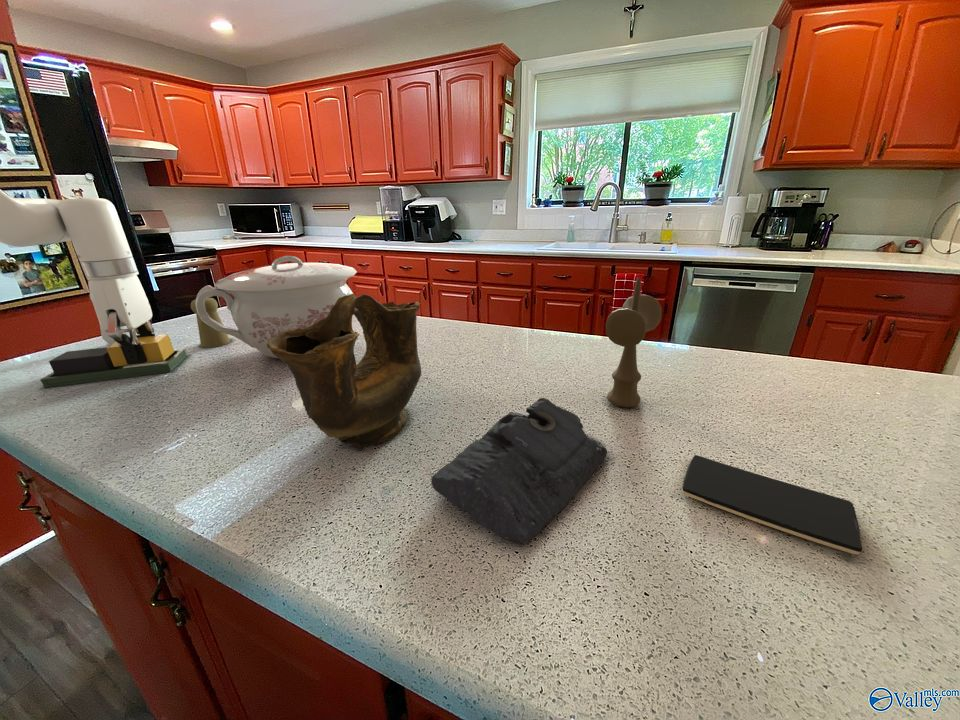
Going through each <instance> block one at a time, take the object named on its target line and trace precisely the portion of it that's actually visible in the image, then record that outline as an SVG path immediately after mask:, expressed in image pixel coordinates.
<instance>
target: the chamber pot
mask: <svg viewBox="0 0 960 720" xmlns="http://www.w3.org/2000/svg"><path fill="white" fill-rule="evenodd" d="M284 262H288V263H284ZM289 262H290V263H289ZM357 273H358V272H357V270H356V269H355V268H354V267H352V266H347V265H343V264H339V263H328V262H303V261H302V259H300V258H298V257H297V256H293V255H283V256H280V257H278V258H275V259H274V260H273V262H272V263H271V265H265V266H260V267H255V268H251V269H245V270H242V271H239V272H234V273H232V274H230V275H227V276H225V277H223V278H220V279H218V280H217V281H216V282H215V284H214V287H213V286H212V285H205V286H204V287H202V288H201V289H200V290H199V291H198V293H197V294H196V297H195V300H196V301H195V306H196V311H197V314H198V315H199V317H200V319H201V320H202V321H203V322H205V323H206V324H208V325H209V326H210V327H212V328H213V329H215V330H217V331H220V332H223V333H226V334H227V335H228V336H232V337H234V338H236V339H238V340H240V341H241V342H243V343H244V344H247V346H249V347H251V348H252V349H253V348H254V349H256V350H257V351H258V352H260V354H262V355H263V356H266V357H269V358H272V359H279V358H278V357H276V356H275V355H274V354H273V353H272V352H271V350H270V348H268V347H267V343H268V341H267V340H268V339H269V338H273V337H275V338H277V337H276V336H278V334H280V333H282V332H285V331H289V330H295V329H298V328H307V327H309V326H311V325H313V324H315V323H317V322H318V321H320V320H321V319H323V318H326V317H327V316H328V315H329V313H330V310H331V308H332V307H333V306H334V305H335V303H336V301H337V300H338V299H339V298H340V297H343V296H347V295H350V294H354V293H353V291H352V290H351V288H350V287H349V286H348V284H347V280H348V279H351V278H353V277H354V276H355V275H356V274H357ZM213 297H219V298H223V299H224V301H225V304H226V308H227V310H229V311H230V313H231V317H232V320H233V323H234V324H235V326H236V328H234V327H229V326H226V325H224V324H223V325H221V324H220V323H218V322H217V321H215V320H213V319H212V318H211V317H210V316H209V314H208V313H207V311H206V308H205V299H206V298H213ZM353 315H354V314H353ZM354 320H355V315H354V316H352V324H353V323H354Z"/></svg>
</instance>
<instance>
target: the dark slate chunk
mask: <svg viewBox="0 0 960 720" xmlns="http://www.w3.org/2000/svg"><path fill="white" fill-rule="evenodd" d="M525 412H526V413H527V414H528V415H527V414H523V413H519V412H514V411H510V412H509V413H507V414H505V415H504V416H502V417H501V418H500V419H499V420H497V422H495V423H494V424H493V425H492V427H490V428H489V430H488V431H487V432H486V433H485V434H484V435H483V436H482V437H481V438H479V439H475V440H474V441H473V442H471V443H470V444H469V445H468V446H466V447H465V448H464V450H463V451H461V452H460V453H458V454H457V455H456V457H454V459H453V460H451V461H450V462H449V463H446V464H445V465H444V466H443V467H441V468H440V469H438V471H437V472H436V473H435V474H433V475H432V477H431V485H432V488H433V490H434V491H435V492H437V493H438V494H439V495H441V496H443V498H445V499H446V500H448V501H449V502H450V503H451V504H452V506H453V507H456V508H457V509H459V510H461V511H463V512H464V513H467V514H468V515H469V516H470V517H471V518H472V519H473V520H474V521H475V522H476V523H477V524H478V525H480V526H482V527H485V528H486V529H487V530H489V531H491V532H493V533H495V535H497V536H498V537H500V538H502V539H507V540H508V541H511V542H512V541H514V542H520V543H521V544H522V545H526V544H527V543H529V542H530V541H531V539H532V538H534V537H536V536H537V535H538V534H539V533H540V532H541V531H542V530H544V528H545V526H546V525H549V524H550V523H551V521H552V519H554V518H555V517H556V516H557V515H558V513H560V512H561V511H563V510H564V509H565V508H566V506H567V504H569V502H571V500H572V499H574V498H575V497H576V496H575V495H576V494H577V493H578V491H580V490H581V488H582V487H583V486H584V485H585V484H586V482H587V481H589V480H590V478H591V476H592V475H593V474H594V472H595V471H597V470H598V469H599V467H600V466H601V465H602V462H603V461H604V460H605V458H606V457H607V454H608V450H607V448H606V447H605V446H603V445H601V441H598V440H596V439H594V438H590V437H589V436H587V434H586V432H585V431H584V430H583V428H584V425H583V424H582V422H581V418H580V417H579V416H578V415H577V414H575V413H574V412H572V411H570V410H568V409H566V408H563V407H561V406H558V405H556V404H555V403H553V402H552V401H551V400H550V399H548V398H546V397H539V398H538V399H537V400H536V401H535V402H534V403H532V404H530V405H529V407H527V408H526V409H525Z"/></svg>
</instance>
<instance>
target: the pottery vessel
mask: <svg viewBox="0 0 960 720" xmlns="http://www.w3.org/2000/svg"><path fill="white" fill-rule="evenodd" d="M420 305H421V303H420V302H418V301H414V302H403V303H400V304H396V303H395V302H394V301H390V302H387V303H386V302H379V301H378V300H376V299H375V298H374V297H372V296H371V295H369V294H367V293H362V294H361V295H358V296H356V295H355V293H353V294H350V295H347V296H343V297H340V298H339V299H338V300H337V301H336V303H335V305H334V306H333V307H332V308H331V310H330V313H329V315H328V316H327V317H326V318H323V319H321V320H320V321H318V322H317V323H315V324H313V325H311V326H309V327H307V328H298V329H295V330H289V331H285V332H282V333H280V334H278V336H276V337H277V338H275V337H273V338H269V339H268V340H267V341H268V343H267V347H268V348H270V350H271V352H272V353H273V354H274V355H275V356H276V357H278V358H277V359H279V360H281V362H283V364H284V365H286V366H287V368H288V369H289V370H290V372H291V374H292V375H293V378H294V381H295V385H296V387H297V390H298V392H299V396H300V398H301V401H302V407H303V408H304V410H305V412H306V415H307V416H308V419H311V420H312V422H314V424H315V425H316V426H317V427H318V429H319V430H320V431H321V432H322V433H323V434H325V435H326V436H327V437H329V438H336V439H337V440H338V442H341V443H342V444H345V445H349V444H351V445H352V446H355V445H356V446H359V447H367V446H371V445H374V444H375V445H376V444H380V443H383V442H384V441H387V440H389V439H390V438H392V437H393V436H395V435H396V434H398V433H399V432H400V431H401V430H402V428H404V427H405V425H406V424H407V423H408V413H407V411H406V406H407V405H408V404H409V402H410V400H411V398H412V396H413V394H414V392H415V390H416V387H417V385H418V383H419V381H420V378H421V375H422V365H421V362H420V357H419V351H418V333H417V332H418V331H417V319H418V316H417V315H418V311H419V309H420ZM353 314H354V315H353ZM352 316H354V318H356V320H357V322H358V323H359V325H360V327H361V329H362V334H363V336H364V341H365V345H366V347H365V353H364V355H363V357H362V358H360V361H359V362H358V363H357V360H356V355H355V351H354V350H355V348H354V347H355V345H356V343H357V340H358V337H359V336H360V333H358V332H357V331H356V330H354V328H353V323H352Z"/></svg>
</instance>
